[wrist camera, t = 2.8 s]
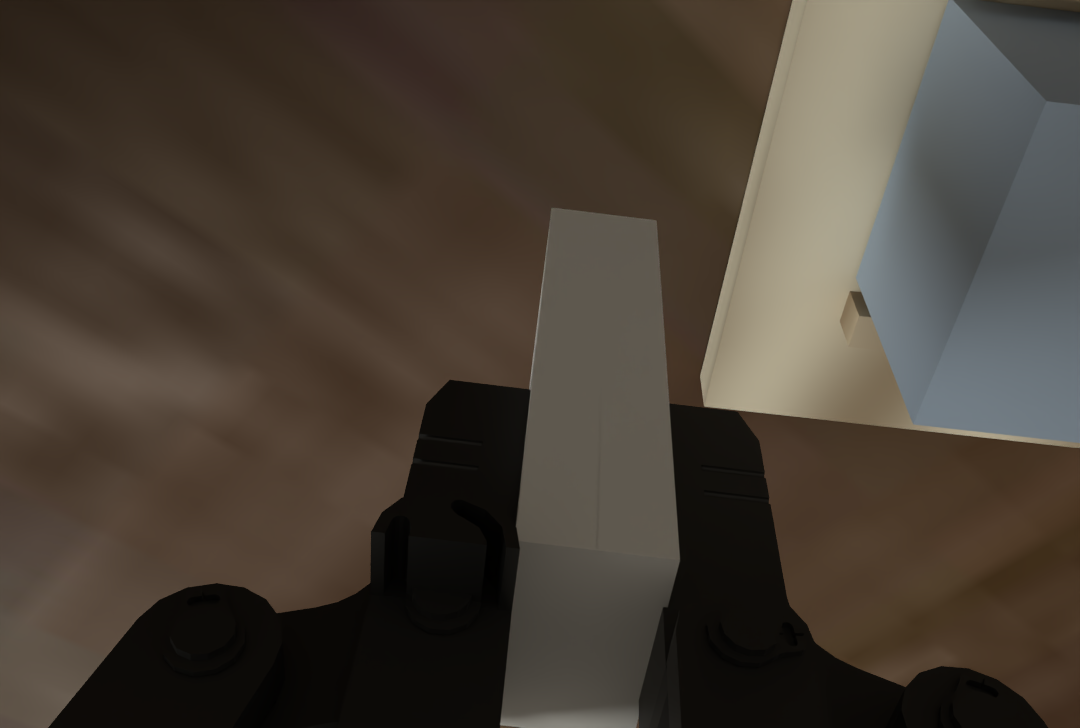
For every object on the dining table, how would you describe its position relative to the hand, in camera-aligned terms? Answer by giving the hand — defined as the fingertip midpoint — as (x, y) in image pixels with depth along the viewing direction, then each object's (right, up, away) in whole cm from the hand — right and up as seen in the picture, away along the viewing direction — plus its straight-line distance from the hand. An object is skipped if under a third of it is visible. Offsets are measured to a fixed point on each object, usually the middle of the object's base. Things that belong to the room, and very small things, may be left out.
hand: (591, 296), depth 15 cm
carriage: (+9, +3, +5) cm, 11 cm away
